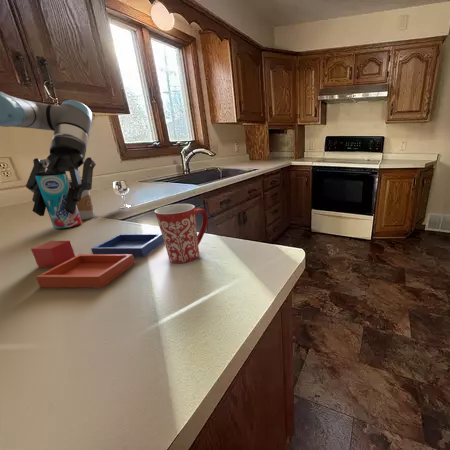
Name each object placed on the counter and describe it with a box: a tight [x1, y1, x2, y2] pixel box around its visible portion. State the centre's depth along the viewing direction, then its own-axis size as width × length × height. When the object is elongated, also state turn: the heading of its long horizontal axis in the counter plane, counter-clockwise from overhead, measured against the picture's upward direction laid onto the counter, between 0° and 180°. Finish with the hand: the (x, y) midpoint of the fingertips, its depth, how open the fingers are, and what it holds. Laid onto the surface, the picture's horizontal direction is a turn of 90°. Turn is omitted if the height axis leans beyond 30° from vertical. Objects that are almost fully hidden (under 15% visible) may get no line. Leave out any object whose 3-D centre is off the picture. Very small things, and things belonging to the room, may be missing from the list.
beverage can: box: [34, 171, 83, 231], centre depth 66 cm, size 6×6×15 cm
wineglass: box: [112, 179, 132, 209], centre depth 113 cm, size 6×6×12 cm
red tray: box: [35, 253, 136, 288], centre depth 56 cm, size 14×11×3 cm
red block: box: [30, 240, 76, 268], centre depth 62 cm, size 5×5×5 cm
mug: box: [154, 203, 209, 264], centre depth 64 cm, size 13×9×14 cm
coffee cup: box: [68, 178, 95, 221], centre depth 97 cm, size 8×8×15 cm
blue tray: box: [90, 233, 164, 258], centre depth 70 cm, size 14×11×3 cm
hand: (54, 212), depth 63 cm, fingers closed on beverage can, 6 cm apart
